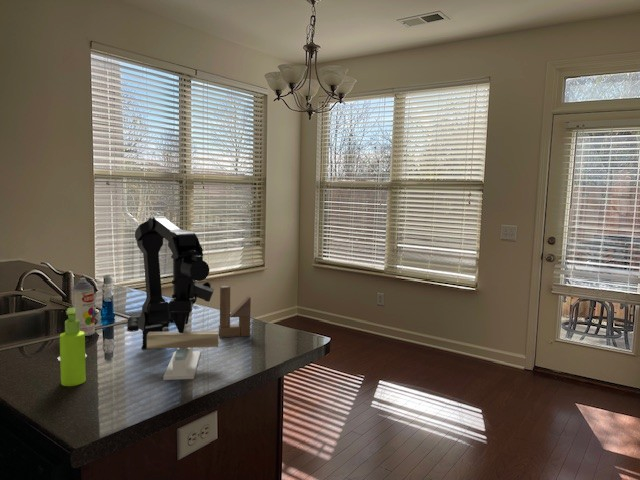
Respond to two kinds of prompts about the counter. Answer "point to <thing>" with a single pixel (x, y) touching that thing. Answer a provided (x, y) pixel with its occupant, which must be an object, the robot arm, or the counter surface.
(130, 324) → the door handle
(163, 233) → the robot arm
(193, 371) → the ridge stand
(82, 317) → the aerosol can
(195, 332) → the birch bar
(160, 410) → the counter surface
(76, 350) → the soap dispenser
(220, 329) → the wooden block
